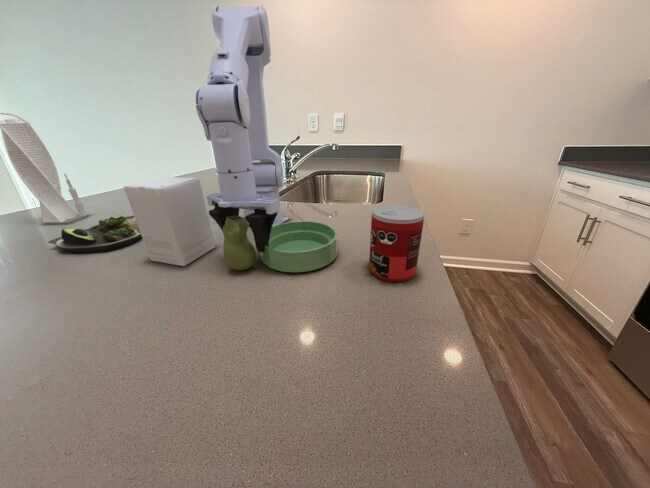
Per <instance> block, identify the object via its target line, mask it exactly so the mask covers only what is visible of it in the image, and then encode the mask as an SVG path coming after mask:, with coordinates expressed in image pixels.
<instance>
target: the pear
mask: <svg viewBox="0 0 650 488" xmlns="http://www.w3.org/2000/svg"><path fill="white" fill-rule="evenodd" d="M248 228H249V225H248V222H247V220H246V219H245V217H244V216H240V215H239V216H237V215H235V216H229V217H226V221H225V224H224V226H223V231H222V235H223V246H222V250H223V251H222V252H223V256H224V261H225V262H226V264H227V266H228V267H229V268H231V269H233V270H235V271H245V270H248V269H249V268H251V267H252V266H253V265H255V262H256V260H257V251H256V248H255V246H254V245H253V243H252V242H251V241H250V239H249V238H248V235H247V233H248V230H249V229H248Z"/></svg>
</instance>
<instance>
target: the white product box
mask: <svg viewBox="0 0 650 488" xmlns="http://www.w3.org/2000/svg"><path fill="white" fill-rule="evenodd" d="M123 189H124V192H125V194H126V198H127V200H128V202H129V203H128V204H129V205H130V208H131V211H132V213H133V216H134V219H135V221H136V222H137V224H138V227H139V230H140V233H141V235H142V237H141V238H142V241H143V244H144V246H145V248H146V251H147V254H148V258H149V260H150V261H151V262H157V263H163V264H167V265H168V264H169V265H173V266H174V265H175V266H181V267H185V266H187V265H189V264H190V263H192V262H194V261H195V260H197V259H199V258H200V257H202V256H204V255H205V254H207V253H208V252H210V251H211V250H213V249H215V248H216V245H215V239H214V235H213V232H212V227H211V223H210V219H209V213H208V211H207V206H206V202H205V198H204V194H203V189H202V185H201V180H200V178H199V177H175V176H161V177H156V178H153V179H148V180H144V181H139V182H135V183H130V184H126V185H124V186H123Z"/></svg>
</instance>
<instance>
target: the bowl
mask: <svg viewBox="0 0 650 488" xmlns="http://www.w3.org/2000/svg"><path fill="white" fill-rule="evenodd" d="M338 252H339V234H338V231H337V230H336V228H335V227H333V226H331V225H329V224H326V223H324V222H320V221H315V220H296V221H295V220H294V221H288V222H287V221H286V222H283V223H281V224H278V225H275V226H272V229H271V233H270V239H269V247H268V246H265V251H263V252H259V254H260V259H261V261H262V263H263V264H264V265H265V266H267V267H268V268H270V269H272V270H276V271H279V272H284V273H303V272H304V273H305V272H311V271H314V270H315V271H316V270H319V269H322V268H324V267H325V266H328V265H330V264H331V263H332V262H333V261H335V260H336V258H337V256H338Z"/></svg>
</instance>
